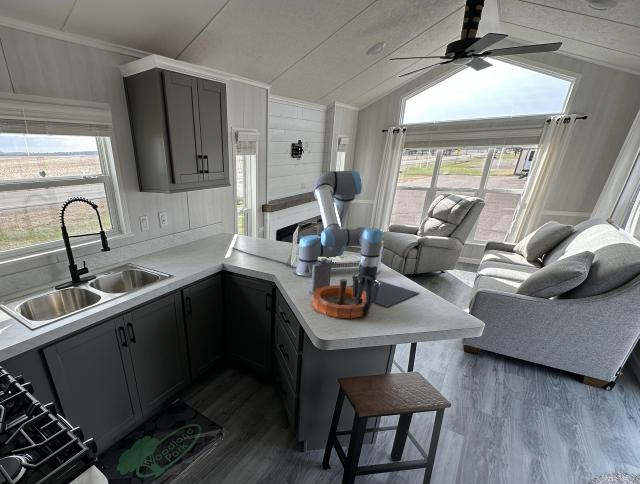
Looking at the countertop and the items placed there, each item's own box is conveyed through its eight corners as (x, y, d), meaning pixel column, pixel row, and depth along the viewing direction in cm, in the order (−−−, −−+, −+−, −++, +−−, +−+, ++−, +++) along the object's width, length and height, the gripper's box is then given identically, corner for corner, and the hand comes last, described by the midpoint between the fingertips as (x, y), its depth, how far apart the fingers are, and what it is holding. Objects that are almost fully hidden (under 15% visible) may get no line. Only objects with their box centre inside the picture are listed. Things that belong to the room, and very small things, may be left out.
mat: (340, 290, 179) (340, 289, 179) (371, 279, 193) (372, 278, 193) (387, 307, 158) (387, 306, 158) (418, 293, 172) (418, 292, 172)
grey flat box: (331, 287, 183) (334, 256, 176) (315, 294, 175) (317, 262, 168) (326, 286, 186) (329, 255, 178) (309, 292, 178) (311, 260, 170)
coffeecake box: (368, 268, 211) (372, 239, 203) (380, 270, 207) (384, 240, 199) (361, 275, 200) (365, 244, 192) (373, 277, 196) (378, 245, 188)
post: (330, 306, 161) (332, 279, 155) (339, 302, 164) (342, 276, 159) (341, 311, 155) (344, 284, 150) (351, 307, 159) (354, 280, 153)
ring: (301, 303, 163) (301, 294, 161) (337, 290, 177) (338, 281, 175) (345, 323, 143) (346, 313, 141) (382, 307, 156) (383, 297, 154)
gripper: (347, 262, 145) (342, 309, 155) (380, 271, 133) (372, 322, 142) (358, 258, 149) (352, 305, 158) (390, 267, 137) (382, 317, 146)
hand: (361, 313), depth 150 cm, fingers closed on ring, 3 cm apart
